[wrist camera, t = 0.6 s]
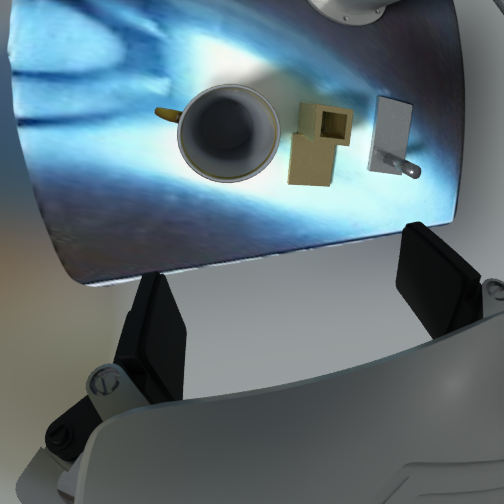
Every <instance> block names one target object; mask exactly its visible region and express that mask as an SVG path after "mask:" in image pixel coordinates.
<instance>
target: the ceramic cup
mask: <svg viewBox="0 0 504 504" xmlns="http://www.w3.org/2000/svg"><path fill="white" fill-rule="evenodd" d="M155 114H156V115H157V116H159V117H160V118H162V119H165V120H167V121H170V122H175V123H178V129H177V140H178V146H179V149H180V152H181V154H182V156H183V158H184V160H185V161H186V163H187V164H188V165H189V166H190V167H191V168H192V169H193V170H194V171H195V172H196V173H198V174H199V175H201V176H202V177H204V178H206V179H209V180H212V181H215V182H221V183H234V182H240V181H244V180H247V179H249V178H251V177H253V176H255V175H257V174H258V173H260V172H261V171H262V170H264V169H265V168H266V167H267V166H268V164H269V163H270V162H271V161H272V159H273V157H274V156H275V154H276V152H277V149H278V146H279V142H280V135H281V133H280V123H279V119H278V116H277V114H276V112H275V110H274V108H273V106H272V105H271V104H270V102H269V101H268V100H267V99H266V98H265V97H264V96H263V95H261V94H260V93H258V92H257V91H255V90H253V89H251V88H248V87H245V86H242V85H235V84H224V85H218V86H214V87H211V88H209V89H207V90H205V91H203V92H201V93H200V94H198V95H197V96H196V97H194V98H193V99H192V100H191V101H190V102H189V104H188V105H187V106H186V108H185V109H184V111H183V112H181V111H177V110H172V109H165V108H159V107H158V108H156V109H155Z"/></svg>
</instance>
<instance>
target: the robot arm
mask: <svg viewBox="0 0 504 504" xmlns="http://www.w3.org/2000/svg"><path fill="white" fill-rule="evenodd" d="M397 1H400V0H308V2H309V3H310V4H311V5H312V6H313V8H314V9H315V10H317V11H318V12H319V13H320V14H322V15H323V16H325V17H326V18H328V19H330V20H332V21H334V22H337V23H340V24H343V25H348V26H363V25H367V24H370V23H372V22H374V21H376V20H377V19H379V18H380V17H381V16H382V14H383V12H384V11H385V8H386V6H387V5H389V4H392V3H395V2H397ZM493 1H494V2H495V4H496V5H497V6H498V7H499V9H500V10H501V12H502V13H503V15H504V0H493ZM343 18H344V19H345V20H344V19H343ZM480 278H481V275H480V274H479V273H478V272H477V271H476V270H475V269H474V268H473V267H472V266H471V265H470V264H469V263H468V262H466V261H465V260H464V259H463V258H462V257H461V256H460V255H459V254H458V253H457V252H456V251H454V250H453V249H452V248H451V247H450V246H449V245H447V244H446V243H445V242H444V241H443V240H442V239H441V238H439V237H438V236H437V235H436V234H435V233H434V232H432V231H431V230H430V229H429V228H427V227H426V226H425V225H424V224H423V223H421V222H413V223H408V224H406V226H405V228H403V231H402V239H401V248H400V255H399V263H398V270H397V277H396V288H397V290H398V291H399V293H400V294H401V295H402V297H403V298H404V299H405V301H406V302H407V303H408V305H409V306H410V307H411V309H412V310H413V312H414V313H415V314H416V316H417V317H418V319H419V320H420V321H421V323H422V324H423V326H424V327H425V329H426V330H427V332H428V333H429V334H430V336H431V337H432V339H433V340H431V341H429V342H426V343H424V344H421V345H418V346H416V347H413V348H410V349H407V350H405V351H402V352H399V353H396V354H393V355H390V356H387V357H384V358H381V359H378V360H375V361H372V362H369V363H365V364H362V365H358V366H355V367H352V368H348V369H345V370H341V371H337V372H334V373H330V374H326V375H322V376H318V377H314V378H310V379H305V380H301V381H297V382H292V383H288V384H283V385H278V386H273V387H268V388H262V389H256V390H250V391H244V392H238V393H232V394H225V395H218V396H211V397H204V398H195V399H187V400H183V383H184V382H183V381H184V366H185V351H186V336H187V332H186V327H185V324H184V321H183V319H182V317H181V314H180V312H179V309H178V307H177V304H176V302H175V300H174V297H173V295H172V292H171V289H170V287H169V284H168V282H167V279H166V277H165V275H164V274H160V273H159V272H158V271H155V272H149V273H144V274H143V275H142V278H141V281H140V284H139V287H138V290H137V293H136V296H135V299H134V302H133V305H132V309H131V310H130V311H129V312H128V314H127V317H126V320H125V323H124V326H123V329H122V333H121V337H120V340H119V343H118V347H117V350H116V354H115V357H114V361H113V364H110V363H108V364H104V365H101V366H99V367H97V368H96V369H95V370H94V371H92V372H91V374H90V375H89V377H88V379H87V382H86V391H87V394H88V395H87V396H85V397H84V398H83V399H81V400H80V401H79V402H78V403H76V404H75V405H74V406H73V407H71V408H70V409H69V410H68V411H66V412H65V413H64V414H62V415H61V416H60V417H59V418H57V419H56V420H55V421H54V422H52V424H51V425H50V426H49V427H48V429H47V431H46V435H45V443H46V447H45V449H43V448H42V447H40V449H39V450H38V452H37V453H36V455H35V456H34V457H33V459H32V460H31V462H30V463H29V464H28V466H27V467H26V468H25V470H24V471H23V473H22V474H21V476H20V477H19V479H18V481H17V483H16V494H17V497H18V498H19V500H20V501H21V503H22V504H504V282H503V281H501V280H498V279H493V278H492V279H487V280H485V281H484V282H483V284H482V285H481V284H480V282H479V281H480Z"/></svg>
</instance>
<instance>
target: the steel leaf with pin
mask: <svg viewBox="0 0 504 504" xmlns="http://www.w3.org/2000/svg"><path fill="white" fill-rule="evenodd" d="M411 113H412V105H410V104H406V103H403V102H399V101H396V100H392V99H388V98H384V97H380V96H377V99H376V109H375V117H374V125H373V133H372V140H371V147H370V154H369V160H368V166H367V170H369V171H374V172H382V173H389V174H396V175H402V172H403V173H404V174H406V175H408V176H410V177H412V178H413V179H417V178H419V177H420V175H421V168H420V167H419V166H417V165H415V164H413V163H411V162H409V161H407V160H405V154H406V148H407V142H408V135H409V128H410V121H411Z"/></svg>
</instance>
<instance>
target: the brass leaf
mask: <svg viewBox="0 0 504 504" xmlns="http://www.w3.org/2000/svg"><path fill="white" fill-rule="evenodd" d="M323 111H326V120H325V129H324V132H323V131H321V124H322V113H323ZM352 119H353V110H351V109H345V108H339V107H333V106H326V105H319V104H311V103H302V102H300V113H299V125H298V134H293V133H292V138H291V149H290V160H289V170H288V181H287V183H288V184H289V185H310V186H327V187H330V180H331V173H332V166H333V158H334V150H335V145H343V146H349V144H350V136H351V128H352Z"/></svg>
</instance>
